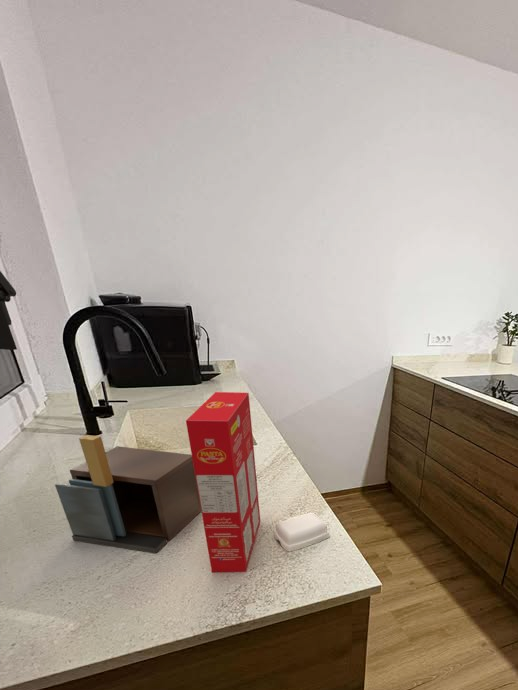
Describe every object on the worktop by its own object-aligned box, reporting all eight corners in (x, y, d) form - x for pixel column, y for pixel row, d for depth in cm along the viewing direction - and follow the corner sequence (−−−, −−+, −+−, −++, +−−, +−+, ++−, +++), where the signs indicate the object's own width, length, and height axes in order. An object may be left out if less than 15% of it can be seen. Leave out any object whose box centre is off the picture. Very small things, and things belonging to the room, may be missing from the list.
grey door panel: (83, 532, 67) (49, 435, 59) (90, 527, 68) (58, 431, 60) (122, 538, 66) (93, 439, 58) (128, 533, 67) (101, 436, 59)
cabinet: (73, 540, 67) (50, 478, 61) (131, 500, 80) (117, 446, 74) (156, 553, 65) (140, 490, 59) (203, 509, 77) (193, 454, 72)
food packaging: (232, 521, 74) (215, 392, 63) (260, 521, 75) (248, 392, 63) (211, 572, 61) (185, 420, 50) (245, 571, 61) (227, 421, 50)
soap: (287, 553, 66) (286, 539, 65) (271, 533, 71) (270, 520, 70) (332, 537, 71) (332, 523, 69) (314, 519, 76) (313, 507, 74)
